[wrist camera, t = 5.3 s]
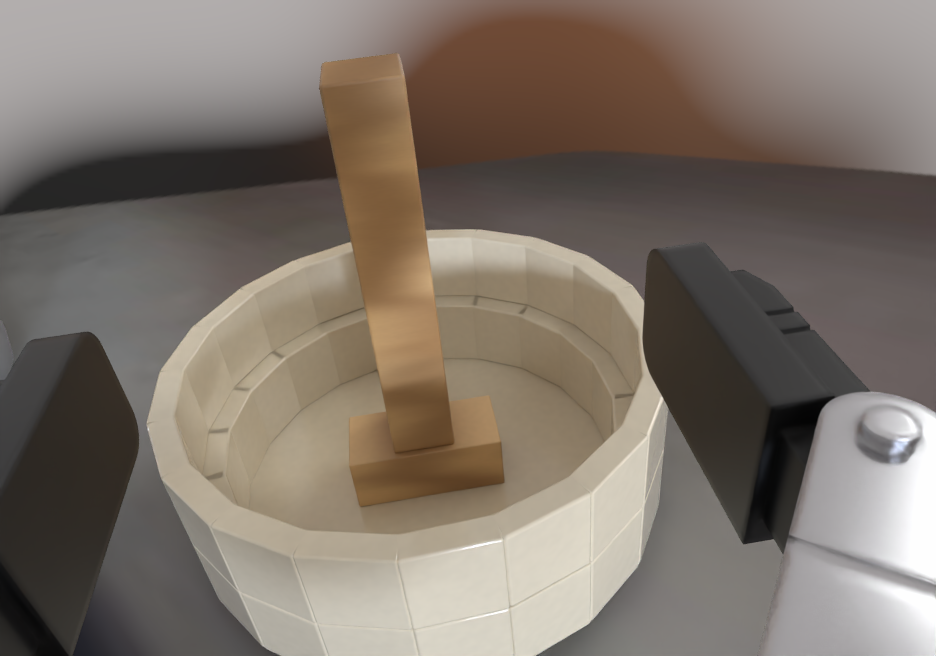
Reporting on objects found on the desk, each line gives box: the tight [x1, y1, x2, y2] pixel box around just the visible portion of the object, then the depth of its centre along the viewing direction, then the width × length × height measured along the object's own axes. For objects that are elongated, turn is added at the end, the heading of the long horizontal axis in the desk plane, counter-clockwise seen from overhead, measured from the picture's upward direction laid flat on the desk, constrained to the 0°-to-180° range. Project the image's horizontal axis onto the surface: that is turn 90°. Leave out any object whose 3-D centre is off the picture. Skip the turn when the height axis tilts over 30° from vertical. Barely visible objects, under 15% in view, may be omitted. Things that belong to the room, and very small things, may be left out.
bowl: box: [147, 229, 668, 656], centre depth 25 cm, size 16×16×6 cm
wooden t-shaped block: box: [319, 53, 505, 507], centre depth 22 cm, size 5×2×14 cm, turn 98°
